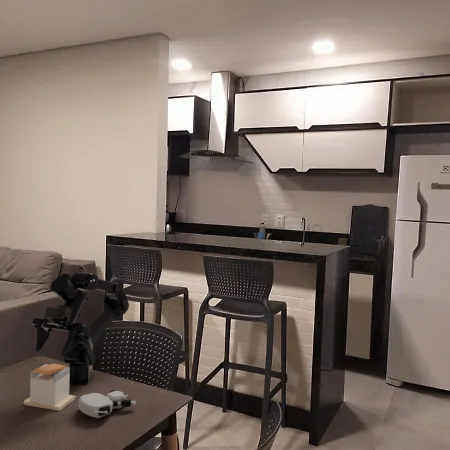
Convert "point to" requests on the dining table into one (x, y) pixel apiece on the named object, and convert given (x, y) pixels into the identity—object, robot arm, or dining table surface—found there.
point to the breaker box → (50, 390)
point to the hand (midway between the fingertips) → (49, 353)
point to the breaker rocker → (50, 369)
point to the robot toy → (103, 403)
